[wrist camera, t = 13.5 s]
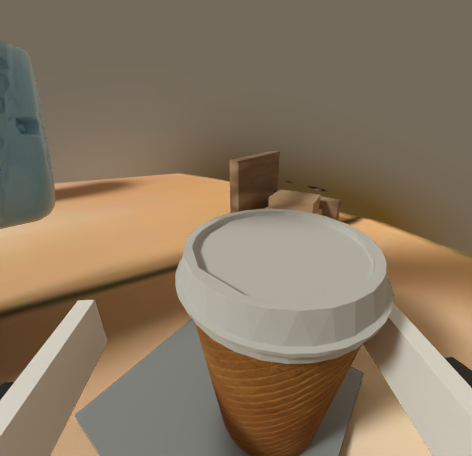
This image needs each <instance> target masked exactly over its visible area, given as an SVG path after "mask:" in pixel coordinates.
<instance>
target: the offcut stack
mask: <svg viewBox="0 0 472 456" xmlns="http://www.w3.org/2000/svg"><path fill="white" fill-rule="evenodd" d="M320 197H321V195H317V194H309V193H301V192H295V191H287V190H278V191H277V192H275V193H274V194H273V195H271V196H270V197H269V204H268V207H266V208H264V209H287V210H298V211H304V212H310V213H315V214H319V215H322V209H319V204H320Z"/></svg>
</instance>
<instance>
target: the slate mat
mask: <svg viewBox="0 0 472 456" xmlns="http://www.w3.org/2000/svg"><path fill="white" fill-rule="evenodd" d="M362 377H363V373H362V372H360V371H358V370H356V369H354V368H352V367H351V366H350V368H349V370H348V371H347V374H346V376H345V377H344V379H343V381H342V383H341V385H340V387H339V389H338V391H337V393H336V395H335V397H334V399H333V401H332V403H331V405H330V406H329V408H328V410H327V412H326V414H325V416H324V418H323V420H322V422H321V424H320V426H319V428H318V430H317V431H316V434H315V436H314V438H313V440H312V441H311V443H310V445H309V446H308V447H307V448H306V449H305V450H304V451H303V452H302V453H301V454H300V455H298V456H338V455H339V452H340V449H341V446H342V442H343V439H344V436H345V432H346V429H347V426H348V423H349V419H350V416H351V413H352V409H353V406H354V403H355V400H356V396H357V393H358V390H359V386H360V383H361V380H362ZM75 417H76V419H77V421H78V423H79V424H80V426H81V427H82V429H83V430H84V432H85V434H86V435H87V437H88V438H89V440H90V441H91V443H92V444H93V446H94V447H95V449H96V450H97V452H98V454H99V455H100V456H250V455H248V454H246V453H245V452H244V451H243V450H242V449H240V448H239V447H238V446H237V445H236V443H235V442H234V441H233V440H232V438H231V437H230V435H229V433H228V431H227V430H226V428H225V425H224V422H223V419H222V415H221V411H220V408H219V404H218V402H217V397H216V395H215V391H214V388H213V384H212V380H211V377H210V373H209V370H208V367H207V362H206V359H205V356H204V352H203V348H202V345H201V342H200V338H199V335H198V331H197V328H196V325H195V322H194V320H193V319H191V320H190V321H189V322H188V323H186V324H185V325H184V326H183V327H182V328H180V329H179V330H178V331H177V332H175V333H174V334H173V335H172V336H171V337H169V338H168V339H167V340H166V341H164V342H163V343H162V344H161V345H160V346H158V347H157V348H156V349H155V350H153V351H152V352H151V353H150V354H149V355H147V356H146V357H145V358H144V359H142V360H141V361H140V362H139V363H138V364H136V365H135V366H134V367H133V368H131V369H130V370H129V371H128V372H127V373H125V374H124V375H123V376H122V377H120V378H119V379H118V380H117V381H116V382H114V383H113V384H112V385H111V386H110V387H108V388H107V389H106V390H105V391H103V392H102V393H101V394H100V395H99V396H97V397H96V398H95V399H94V400H92V401H91V402H90V403H89V404H88V405H86V406H85V407H84V408H83V409H81V410H80V411H79V412H78V413H77V414H75Z"/></svg>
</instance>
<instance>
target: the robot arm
mask: <svg viewBox="0 0 472 456" xmlns="http://www.w3.org/2000/svg"><path fill="white" fill-rule="evenodd" d="M55 200H56V198H55V188H54V181H53V174H52V167H51V161H50V155H49V150H48V144H47V137H46V132H45V127H44V121H43V116H42V110H41V105H40V100H39V95H38V90H37V85H36V80H35V76H34V72H33V69H32V66H31V60H30V57H29V55H28V54H27V53H26V52H25V51H24V50H23V49H22V48H19V47H16V46H11V45H10V44H9V43H8V42H6V41H0V229H2V228H7V227H11V226H16V225H21V224H25V223H30V222H34V221H38V220H41V219H43V218H44V217H46V216H47V215H48V214H49V213H50V212H51V211H52V209H53V208H54V205H55ZM107 342H108V341H107V337H106V334H105V331H104V328H103V325H102V321H101V318H100V315H99V312H98V309H97V305H96V302H95V300H78V301H77V302H76V304H75V305H74V306H73V308H72V309H71V310H70V311H69V313H68V314H67V315H66V317H65V318H64V319H63V320H62V322H61V323H60V324H59V326H58V327H57V328H56V329H55V331H54V332H53V333H52V335H51V336H50V337H49V338H48V340H47V341H46V342H45V344H44V345H43V346H42V347H41V349H40V350H39V351H38V353H37V354H36V355H35V356H34V358H33V359H32V360H31V362H30V363H29V364H28V365H27V367H26V368H25V369H24V371H23V372H22V373H21V374H20V376H19V377H18V378H17V380H16V381H15V382H6V383H3V384H2V385H0V456H50V455H51V453H52V451H53V449H54V447H55V445H56V443H57V441H58V439H59V437H60V435H61V433H62V431H63V429H64V427H65V425H66V423H67V421H68V419H69V417H70V415H71V413H72V411H73V409H74V407H75V405H76V403H77V401H78V399H79V397H80V395H81V393H82V391H83V389H84V388H85V386H86V384H87V382H88V380H89V378H90V376H91V374H92V372H93V370H94V368H95V366H96V364H97V362H98V360H99V358H100V356H101V354H102V352H103V350H104V348H105V346H106V344H107ZM363 344H364V346H365V347H366V349H367V351H368V352H369V354H370V356H371V357H372V359H373V360H374V362H375V364H376V365H377V367H378V368H379V370H380V372H381V373H382V375H383V377H384V378H385V380H386V381H387V383H388V385H389V386H390V388H391V389H392V391H393V393H394V394H395V396H396V397H397V399H398V401H399V402H400V404H401V406H402V407H403V409H404V410H405V412H406V414H407V415H408V417H409V418H410V420H411V422H412V423H413V425H414V427H415V428H416V430H417V431H418V433H419V435H420V436H421V438H422V439H423V441H424V443H425V444H426V446H427V447H428V449H429V451H430V452H431V454H432V456H472V371H471V370H470V369H469V368H467V367H466V366H465V365H463V364H462V363H460V362H459V361H457V360H456V359H455V358H453V357H449V358H444V357H443V356H442V355H441V354H440V353H439V352H438V351H437V350H436V348H435V347H434V346H433V345H432V344H431V343H430V342H429V341H428V340H427V339H426V338H425V337H424V335H423V334H422V333H421V332H420V331H419V330H418V329H417V328H416V327H415V326H414V325H413V323H412V322H411V321H410V320H409V319H408V318H407V317H406V316H405V315H404V314H403V313H402V311H401V310H400V309H399V308H398V307H397V306H396V305H395V304H394V303H393V305H392V311H391V313H390V315H389V318H388V320H387V322H386V323H385V324H384V325H383V326H382V328H381V329H380V330H379V331H378V332H377V333H376V334H375V336H373V337H371V338H370V339H368V340H367V341H365V342H364V343H363Z"/></svg>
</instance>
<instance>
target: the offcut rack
mask: <svg viewBox="0 0 472 456" xmlns="http://www.w3.org/2000/svg"><path fill="white" fill-rule="evenodd" d="M279 154H280V152H276V151H270V152H265V153H261V154H256V155H252V156H247V157H243V158H238V159H233V160H230V206H231V213H233V212H239V211H245V210H255V209H264V208H266V207H268V204H269V197H270V196H271V195H273V194H274V193H275V192H277V191H278V190H282V189H277V185H278V170H279ZM287 191H288V190H287ZM340 206H341V200H338V199H332V198H327V197H322V196H321V197H320V204H319V209H322V215H323V216H327V217H329V218H332V219H335V220H338V218H339V212H340Z"/></svg>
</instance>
